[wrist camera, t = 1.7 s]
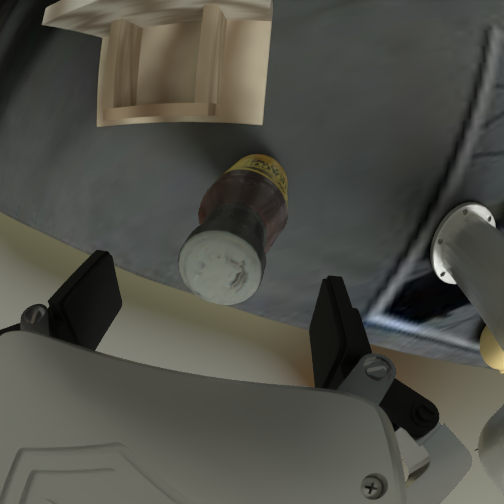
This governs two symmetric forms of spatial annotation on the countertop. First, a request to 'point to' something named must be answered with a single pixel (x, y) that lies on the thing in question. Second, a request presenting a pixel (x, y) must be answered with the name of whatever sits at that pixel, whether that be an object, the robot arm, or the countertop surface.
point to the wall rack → (175, 57)
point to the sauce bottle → (236, 231)
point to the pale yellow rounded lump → (491, 350)
